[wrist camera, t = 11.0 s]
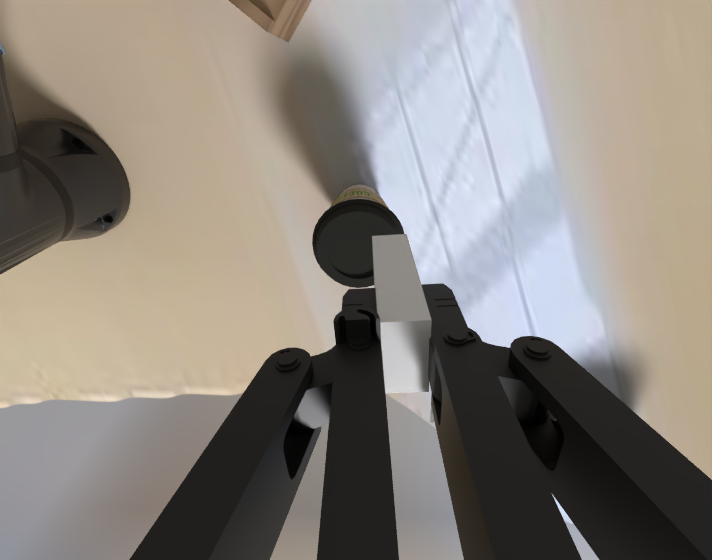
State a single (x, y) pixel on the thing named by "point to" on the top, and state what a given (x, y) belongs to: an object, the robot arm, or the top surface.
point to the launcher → (275, 14)
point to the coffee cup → (352, 235)
